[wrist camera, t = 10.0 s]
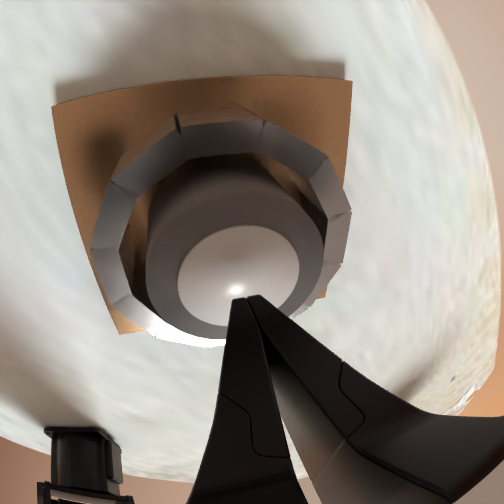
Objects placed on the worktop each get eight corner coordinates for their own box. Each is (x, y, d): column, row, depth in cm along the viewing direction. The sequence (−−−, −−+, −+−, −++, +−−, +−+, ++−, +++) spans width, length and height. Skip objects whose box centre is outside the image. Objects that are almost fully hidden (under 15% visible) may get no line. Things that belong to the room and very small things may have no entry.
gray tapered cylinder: (161, 285, 14) (166, 355, 11) (137, 164, 11) (125, 213, 7) (281, 265, 16) (314, 325, 12) (286, 148, 12) (336, 186, 9)
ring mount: (119, 326, 16) (117, 375, 13) (56, 104, 9) (20, 120, 6) (320, 290, 18) (346, 330, 16) (345, 79, 11) (394, 89, 9)
